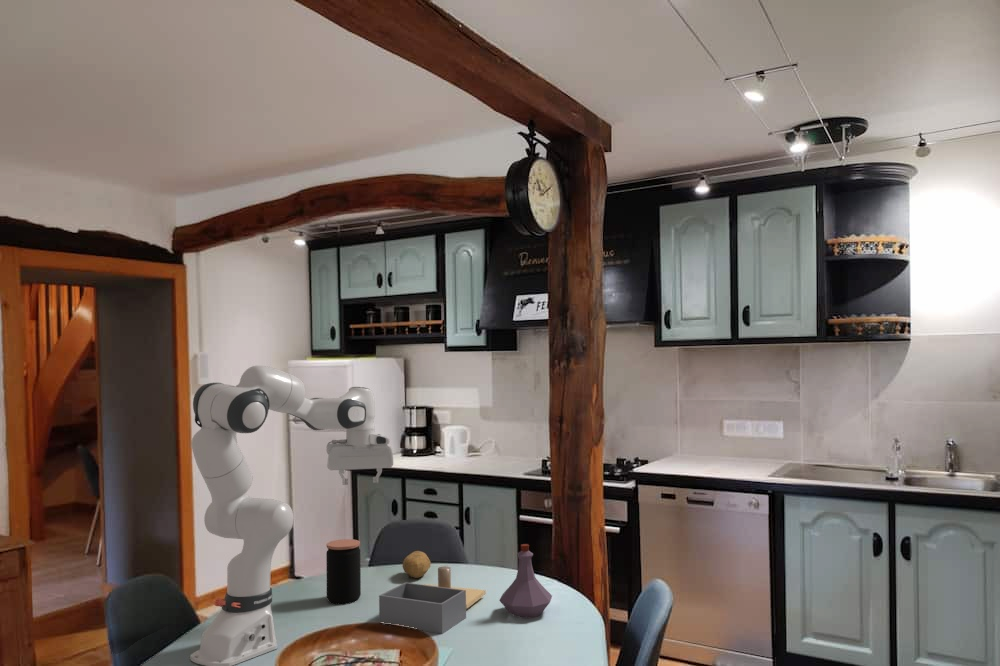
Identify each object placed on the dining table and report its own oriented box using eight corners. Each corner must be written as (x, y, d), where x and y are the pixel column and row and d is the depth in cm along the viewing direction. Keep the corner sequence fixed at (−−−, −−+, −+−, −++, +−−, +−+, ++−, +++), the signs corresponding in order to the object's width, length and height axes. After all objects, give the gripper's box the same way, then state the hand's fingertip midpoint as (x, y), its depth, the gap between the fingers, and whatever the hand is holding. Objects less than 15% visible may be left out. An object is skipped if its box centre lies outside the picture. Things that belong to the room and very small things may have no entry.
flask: (560, 619, 210) (559, 549, 211) (505, 624, 207) (504, 553, 208) (545, 601, 226) (543, 537, 227) (493, 606, 223) (492, 540, 224)
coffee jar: (364, 594, 236) (364, 539, 237) (355, 605, 226) (354, 547, 227) (333, 594, 238) (332, 538, 238) (321, 604, 227) (321, 546, 228)
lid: (466, 613, 217) (466, 577, 218) (402, 606, 225) (402, 571, 226) (485, 598, 231) (485, 564, 232) (424, 592, 239) (424, 559, 240)
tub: (442, 633, 200) (442, 604, 200) (379, 623, 209) (379, 595, 209) (466, 617, 213) (465, 590, 213) (405, 608, 222) (405, 582, 222)
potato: (399, 582, 249) (399, 559, 250) (406, 571, 263) (405, 549, 264) (427, 582, 249) (427, 559, 249) (432, 571, 263) (432, 548, 264)
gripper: (327, 440, 220) (327, 486, 219) (394, 438, 226) (394, 483, 225) (325, 439, 226) (325, 484, 224) (390, 437, 232) (390, 481, 231)
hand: (360, 483), depth 225 cm, fingers open, 8 cm apart
